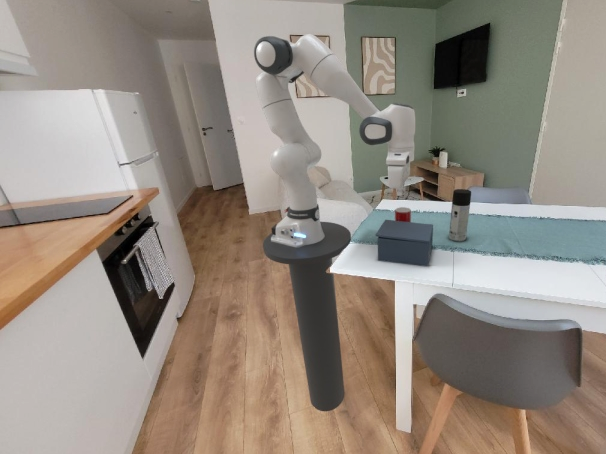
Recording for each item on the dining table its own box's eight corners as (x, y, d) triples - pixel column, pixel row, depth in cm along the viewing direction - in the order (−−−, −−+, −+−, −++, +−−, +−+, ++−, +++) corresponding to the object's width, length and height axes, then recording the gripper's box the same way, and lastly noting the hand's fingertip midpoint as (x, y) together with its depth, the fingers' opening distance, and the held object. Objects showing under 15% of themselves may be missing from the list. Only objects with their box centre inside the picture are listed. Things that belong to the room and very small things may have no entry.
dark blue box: (378, 260, 104) (377, 238, 101) (387, 243, 117) (387, 222, 114) (427, 266, 99) (429, 243, 96) (431, 247, 112) (433, 226, 108)
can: (393, 239, 120) (393, 211, 115) (396, 233, 125) (396, 206, 120) (408, 241, 118) (409, 212, 113) (411, 235, 123) (412, 207, 118)
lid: (375, 236, 101) (375, 234, 101) (385, 221, 114) (385, 219, 113) (429, 243, 96) (429, 241, 95) (433, 226, 108) (433, 224, 108)
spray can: (450, 234, 122) (454, 188, 115) (467, 236, 120) (472, 189, 112) (447, 240, 117) (451, 192, 109) (465, 243, 114) (470, 194, 106)
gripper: (397, 150, 108) (397, 186, 113) (384, 160, 90) (384, 202, 95) (415, 150, 106) (413, 187, 111) (404, 160, 88) (403, 204, 93)
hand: (400, 194), depth 103 cm, fingers closed
